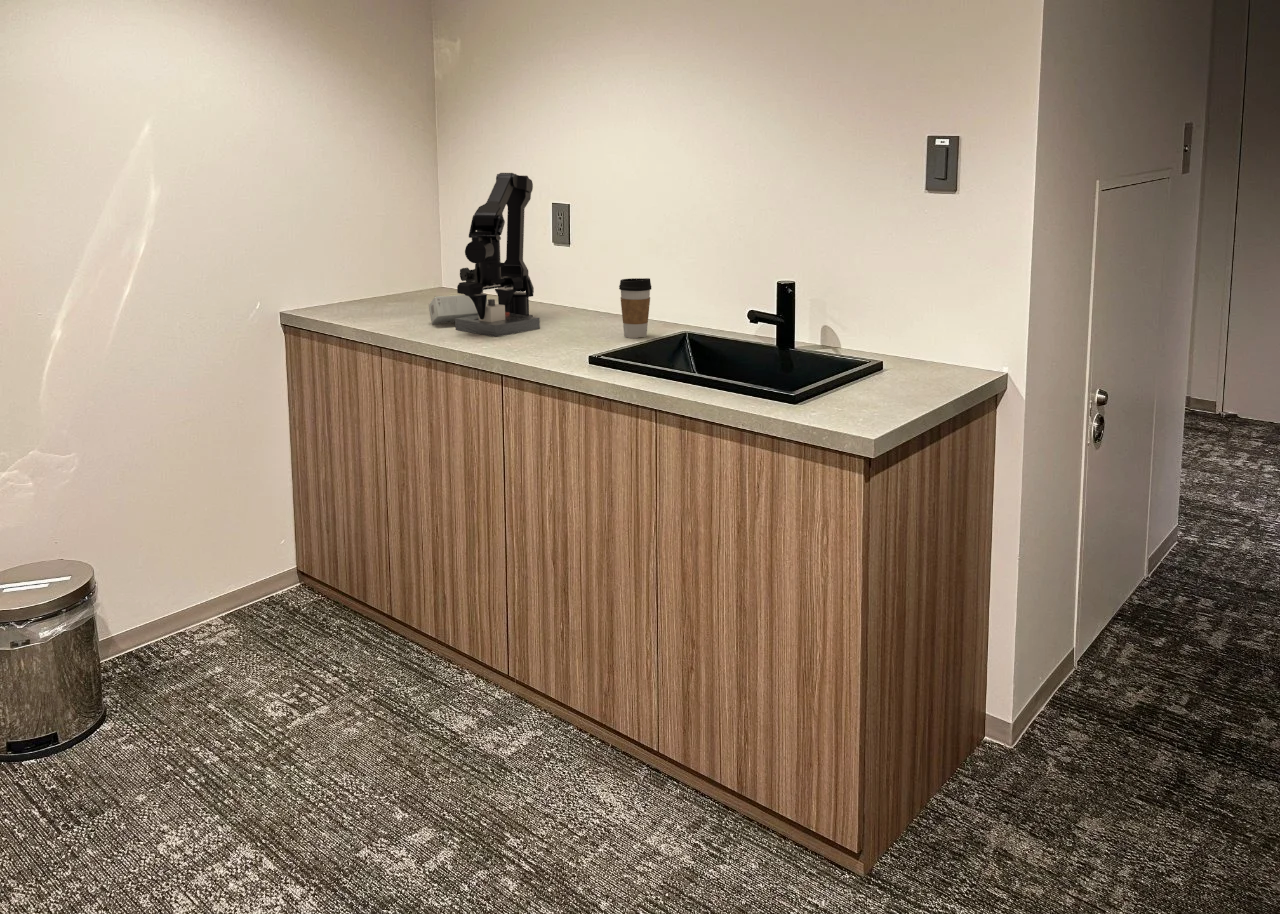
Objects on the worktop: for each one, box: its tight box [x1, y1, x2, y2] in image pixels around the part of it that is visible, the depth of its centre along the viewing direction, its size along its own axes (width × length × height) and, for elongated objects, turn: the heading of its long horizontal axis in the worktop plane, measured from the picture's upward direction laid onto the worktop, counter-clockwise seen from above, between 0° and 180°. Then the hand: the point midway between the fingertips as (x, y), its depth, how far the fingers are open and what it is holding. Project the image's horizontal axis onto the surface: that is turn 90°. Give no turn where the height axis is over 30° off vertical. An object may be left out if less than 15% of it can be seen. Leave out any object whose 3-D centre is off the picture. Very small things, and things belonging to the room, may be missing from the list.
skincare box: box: [428, 292, 488, 325], centre depth 321 cm, size 8×6×15 cm
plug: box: [479, 298, 505, 322], centre depth 311 cm, size 5×5×8 cm
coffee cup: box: [618, 277, 652, 339], centre depth 301 cm, size 8×8×15 cm
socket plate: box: [454, 312, 541, 338], centre depth 313 cm, size 16×16×4 cm
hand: (491, 317), depth 311 cm, fingers open, 7 cm apart
